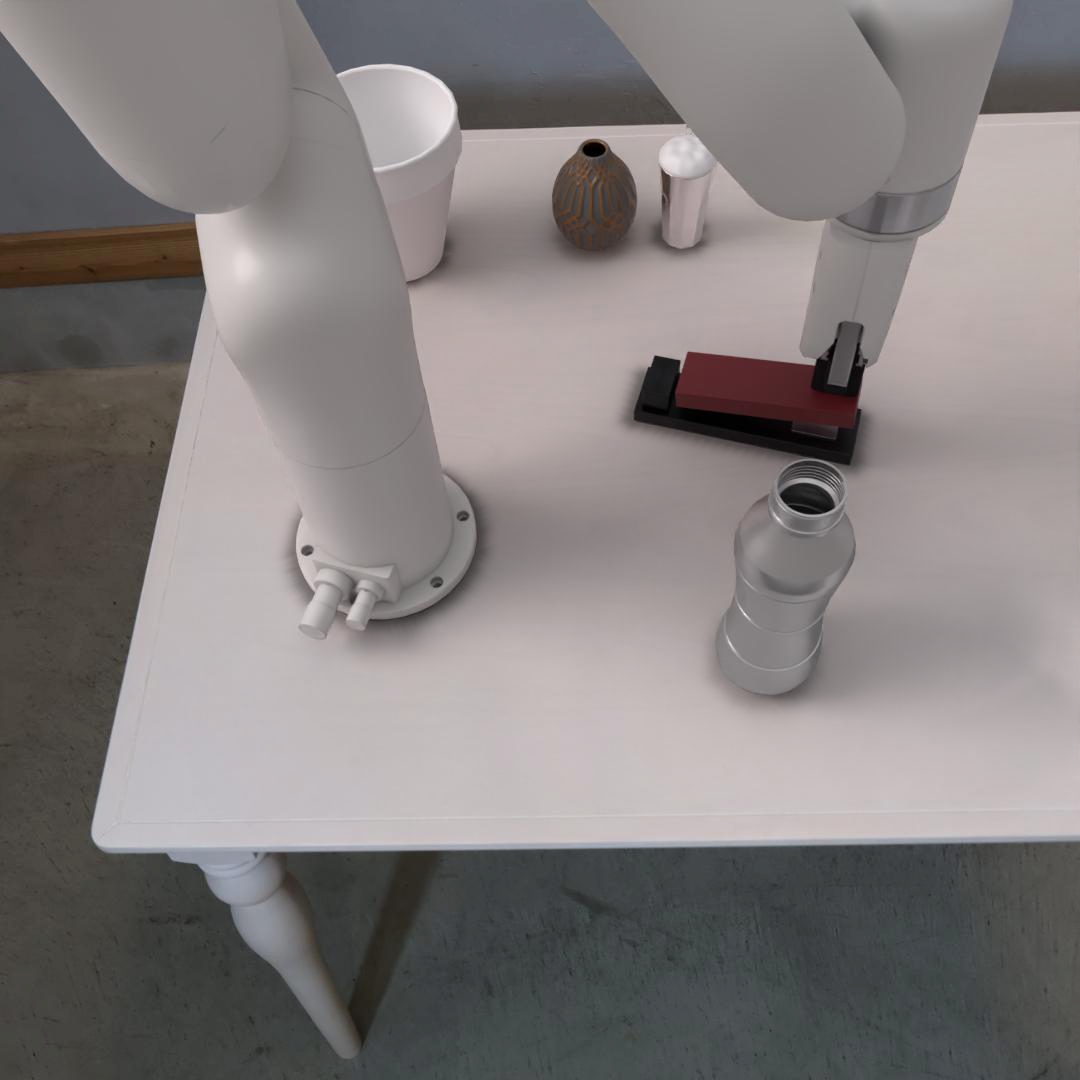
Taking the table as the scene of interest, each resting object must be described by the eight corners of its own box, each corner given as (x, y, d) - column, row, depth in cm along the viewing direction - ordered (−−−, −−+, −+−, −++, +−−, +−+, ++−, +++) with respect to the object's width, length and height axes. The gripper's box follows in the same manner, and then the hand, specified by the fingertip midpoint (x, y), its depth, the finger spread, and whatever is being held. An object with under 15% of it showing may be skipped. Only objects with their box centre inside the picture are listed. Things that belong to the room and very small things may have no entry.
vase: (540, 220, 96) (535, 134, 88) (614, 196, 97) (616, 109, 89) (573, 273, 92) (571, 189, 85) (649, 248, 93) (654, 162, 86)
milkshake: (709, 210, 95) (720, 110, 87) (708, 255, 93) (719, 157, 84) (656, 208, 96) (661, 108, 87) (653, 253, 93) (658, 155, 84)
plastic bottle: (836, 674, 73) (907, 503, 56) (748, 724, 71) (794, 565, 54) (776, 598, 76) (827, 415, 59) (692, 645, 74) (718, 470, 57)
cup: (311, 228, 96) (271, 91, 85) (445, 185, 98) (424, 44, 87) (356, 326, 90) (320, 192, 79) (498, 277, 92) (483, 140, 81)
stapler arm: (862, 385, 80) (863, 370, 78) (853, 429, 78) (854, 414, 77) (688, 365, 83) (687, 350, 82) (676, 406, 82) (674, 392, 80)
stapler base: (858, 418, 83) (867, 392, 81) (849, 465, 81) (857, 440, 78) (647, 376, 86) (649, 349, 84) (633, 420, 84) (634, 394, 81)
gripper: (840, 80, 67) (800, 297, 82) (794, 259, 60) (759, 459, 75) (971, 97, 65) (905, 315, 81) (940, 282, 58) (874, 482, 74)
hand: (835, 384), depth 78 cm, fingers closed
